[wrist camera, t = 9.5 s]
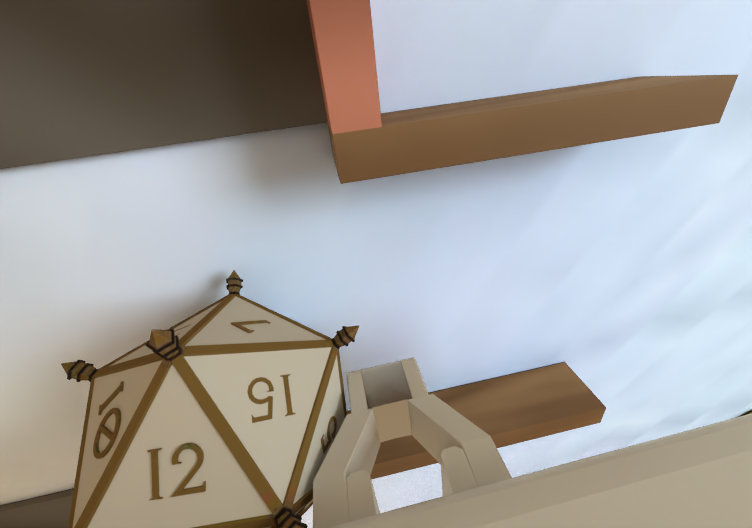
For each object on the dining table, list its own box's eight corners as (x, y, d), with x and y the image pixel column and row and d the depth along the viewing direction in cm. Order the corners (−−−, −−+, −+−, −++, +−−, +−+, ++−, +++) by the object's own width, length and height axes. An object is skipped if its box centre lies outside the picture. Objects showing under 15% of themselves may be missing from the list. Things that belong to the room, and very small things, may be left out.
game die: (291, 303, 18) (301, 523, 14) (80, 297, 12) (21, 644, 9) (402, 240, 11) (466, 610, 8) (64, 170, 6) (-156, 1202, 3)
